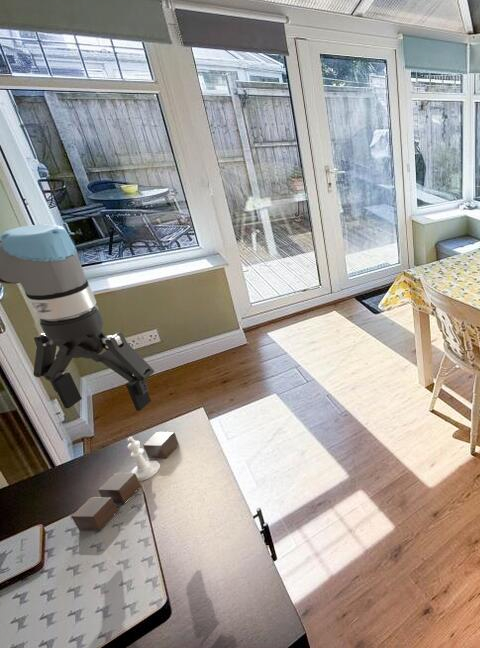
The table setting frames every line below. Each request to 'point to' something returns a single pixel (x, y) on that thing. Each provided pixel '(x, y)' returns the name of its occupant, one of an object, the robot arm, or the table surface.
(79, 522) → the walnut block
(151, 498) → the table surface
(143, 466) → the chess piece
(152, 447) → the walnut block
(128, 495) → the walnut block
